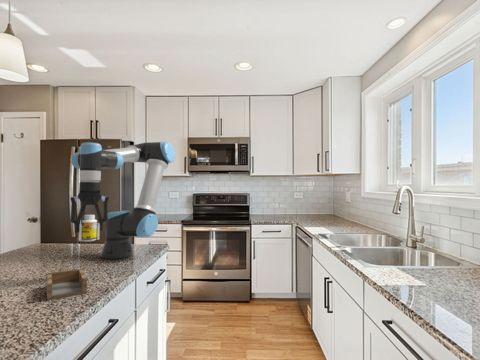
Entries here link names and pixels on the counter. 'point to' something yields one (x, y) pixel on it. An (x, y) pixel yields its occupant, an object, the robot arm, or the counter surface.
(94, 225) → the supplement bottle
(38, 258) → the counter surface
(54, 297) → the walnut u rest
